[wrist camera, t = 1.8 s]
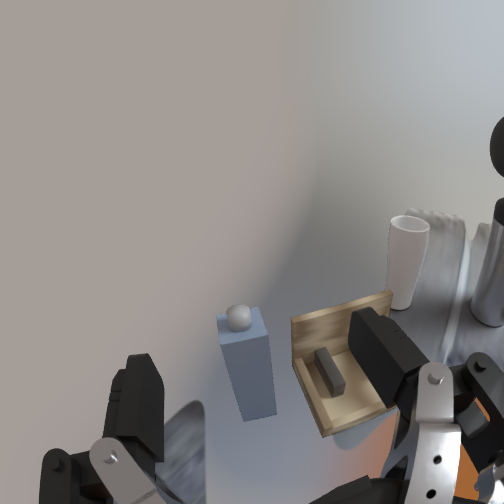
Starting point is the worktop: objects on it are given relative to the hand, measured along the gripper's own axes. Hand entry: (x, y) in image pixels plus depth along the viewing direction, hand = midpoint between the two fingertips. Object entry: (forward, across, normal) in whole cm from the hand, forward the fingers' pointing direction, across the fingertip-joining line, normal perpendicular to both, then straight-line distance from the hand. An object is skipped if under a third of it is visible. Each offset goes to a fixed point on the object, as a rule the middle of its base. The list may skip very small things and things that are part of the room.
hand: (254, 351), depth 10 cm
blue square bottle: (+11, 0, +22) cm, 25 cm away
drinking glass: (+22, -28, +22) cm, 42 cm away
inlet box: (+10, -13, +22) cm, 28 cm away
